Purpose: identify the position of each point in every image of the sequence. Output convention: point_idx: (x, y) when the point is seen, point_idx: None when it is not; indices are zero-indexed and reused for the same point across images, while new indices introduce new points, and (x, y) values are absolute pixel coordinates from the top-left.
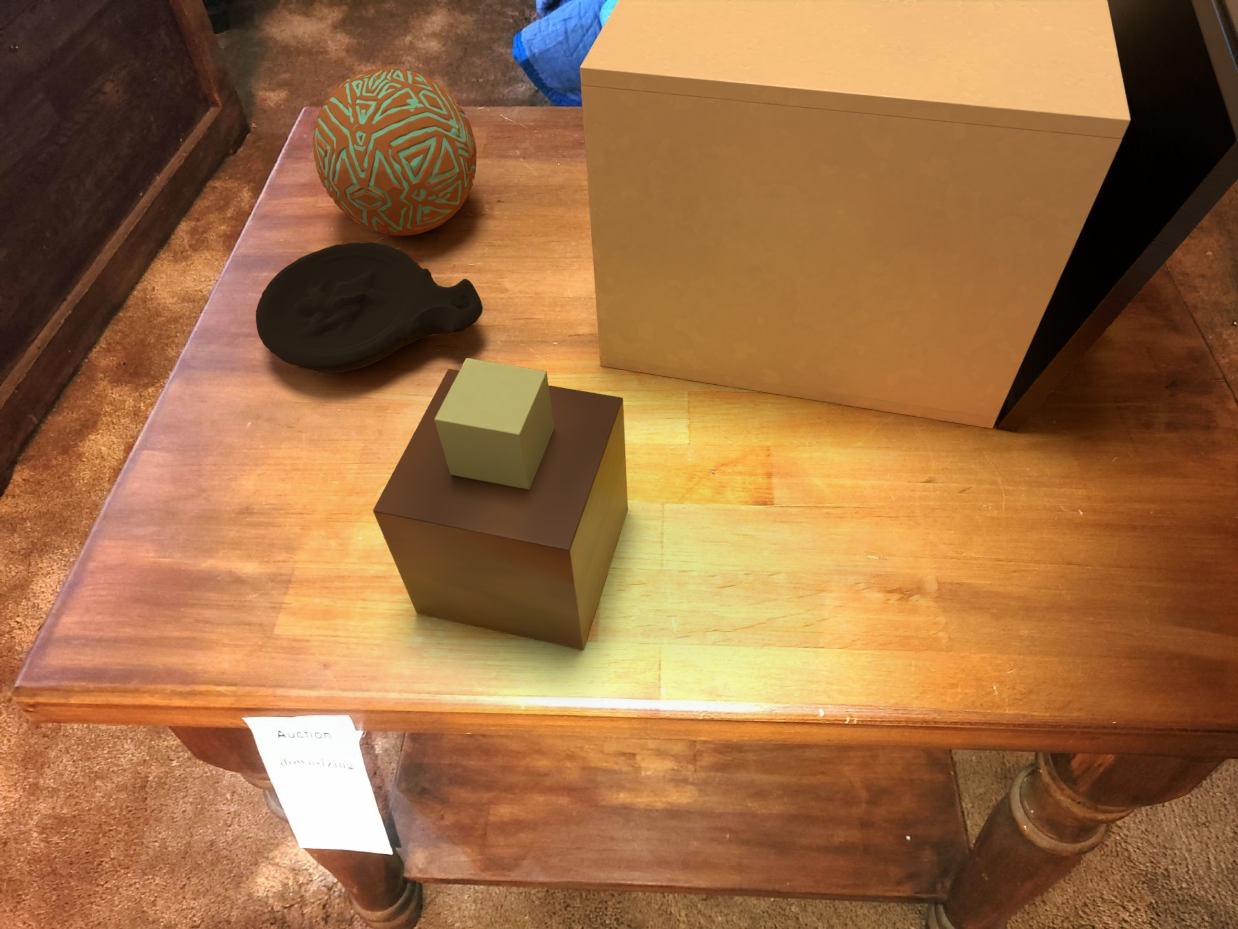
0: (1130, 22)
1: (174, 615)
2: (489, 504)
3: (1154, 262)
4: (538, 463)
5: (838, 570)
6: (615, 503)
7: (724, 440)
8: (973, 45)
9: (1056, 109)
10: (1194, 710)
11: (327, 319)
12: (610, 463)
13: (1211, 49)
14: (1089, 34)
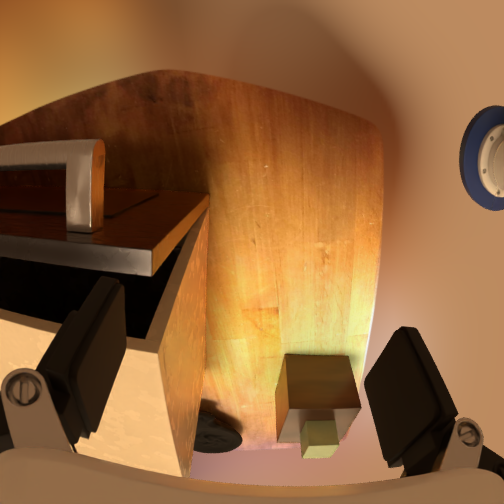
0: None
1: None
2: (340, 425)
3: (182, 226)
4: (325, 422)
5: (313, 282)
6: (304, 373)
7: (241, 326)
8: None
9: (159, 388)
10: (380, 139)
11: (217, 440)
12: (310, 397)
13: (10, 254)
14: (40, 343)
